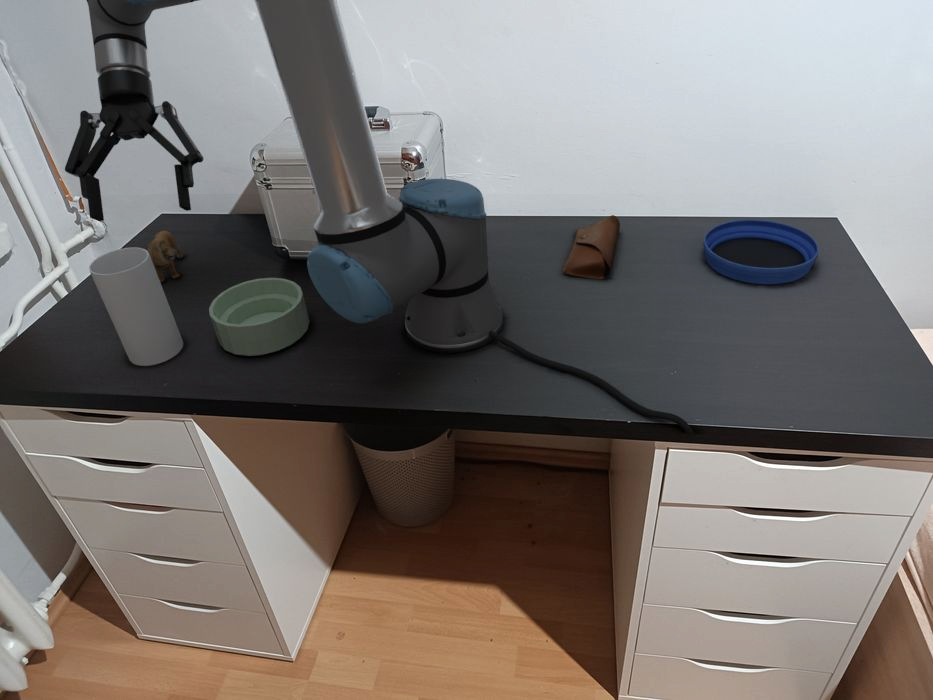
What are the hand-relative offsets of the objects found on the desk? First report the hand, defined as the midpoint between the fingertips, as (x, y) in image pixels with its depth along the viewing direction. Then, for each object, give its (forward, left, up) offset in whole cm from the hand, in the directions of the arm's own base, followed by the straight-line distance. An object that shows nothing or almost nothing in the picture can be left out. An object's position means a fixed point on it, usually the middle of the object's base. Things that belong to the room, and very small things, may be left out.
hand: (141, 214), depth 105 cm
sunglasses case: (-53, -50, -19) cm, 75 cm away
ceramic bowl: (-18, -3, -18) cm, 26 cm away
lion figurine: (+14, -9, -19) cm, 25 cm away
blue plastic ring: (-79, -60, -19) cm, 101 cm away
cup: (-6, +9, -19) cm, 21 cm away
